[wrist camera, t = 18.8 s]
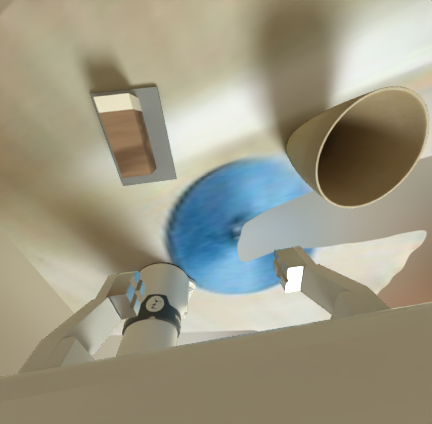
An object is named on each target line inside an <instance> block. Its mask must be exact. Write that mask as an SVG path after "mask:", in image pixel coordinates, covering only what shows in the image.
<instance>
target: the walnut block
mask: <svg viewBox="0 0 432 424" xmlns="http://www.w3.org/2000/svg"><path fill="white" fill-rule="evenodd" d="M93 98H94V100H95V103H96V106H97V109H98V112H99V114H100V117H101V120H102V123H103V125H104V128H105V131H106V134H107V136H108V139H109V142H110V145H111V148H112V150H113V153H114V156H115V159H116V161H117V164H118V167H119V170H120V172H121V175H122V178H128V177H135V176H143V175H150V174H152V173H153V172H154V171H155V170H156V169H157V167H156V163H155V159H154V155H153V151H152V148H151V144H150V140H149V136H148V132H147V129H146V125H145V121H144V117H143V113H142V109H141V106H140V102H139V98H137V97H135V96H133V95H131V94H129V93H125V94H116V95H107V96H98V97H93Z"/></svg>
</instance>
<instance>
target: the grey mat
mask: <svg viewBox="0 0 432 424" xmlns="http://www.w3.org/2000/svg"><path fill="white" fill-rule="evenodd" d="M125 93H129V94H131V95H133V96H135V97H137V98H139V102H140V106H141V109H142V113H143V117H144V121H145V125H146V129H147V132H148V136H149V140H150V144H151V148H152V151H153V155H154V159H155V163H156V167H157V169H156V170H155V171H154V172H153V173H152V174H150V175H143V176H135V177H128V178H122V175H121V172H120V170H119V167H118V164H117V161H116V159H115V156H114V153H113V150H112V148H111V145H110V142H109V139H108V136H107V134H106V131H105V128H104V125H103V123H102V120H101V117H100V114H99V112H98V109H97V106H96V103H95V100H94V98H93V97H98V96H107V95H116V94H125ZM90 95H91V98H92V101H93V104H94V106H95V109H96V112H97V115H98V117H99V120H100V123H101V126H102V128H103V131H104V134H105V137H106V140H107V142H108V145H109V148H110V151H111V153H112V156H113V159H114V162H115V164H116V167H117V170H118V173H119V176H120V178H121V181H122V184H123V186H126V185H133V184H141V183H149V182H157V181H165V180H172V179H176V173H175V169H174V164H173V159H172V154H171V150H170V145H169V140H168V135H167V130H166V126H165V121H164V116H163V111H162V107H161V102H160V97H159V92H158V88H157V87H149V88H139V89H129V90H120V91H110V92H100V93H90Z"/></svg>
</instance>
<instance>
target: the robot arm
mask: <svg viewBox="0 0 432 424" xmlns="http://www.w3.org/2000/svg"><path fill="white" fill-rule="evenodd" d="M274 257H275V259H274V261H273V267H274V271H275V274H276V275H277V277H279V278H280V279H281V281H280V283H281V285H282V287H283V288H284V290H285V292H291V291H298V290H300V291H301V292H302V293H304V294H305V295H306V296H308V297H309V298H310V299H312V300H313V301H314V302H316V303H317V304H318V305H320V306H321V307H322V308H324V309H325V310H326V311H328V312H329V313H330V314H332V315H331V319H330V320H324V321H318V322H312V323H307V324H301V325H295V326H289V327H284V328H278V329H272V330H266V331H261V332H255V333H249V334H243V335H238V336H232V337H226V338H220V339H215V340H209V341H203V342H197V343H192V344H186V345H180V346H177V338H178V336H179V334H180V328H181V318H186V315H187V311H188V301H189V299H190V297H191V295H192V292H193V290H194V288H195V285H196V282H195V281H194V280H192V279H190V278H189V277H188V276H187V275H186V274H185V273H184V271H182V270H181V269H180V268H178V267H176V266H174V265H170V264H164V263H159V264H153V265H149V266H147V267H145V268H143V269H142V270H141V271H140V272H139V271H132V272H124V273H118V274H111V275H109V276H108V278H107V280H106V281H105V283H104V285H103V286H102V288H101V290H100V292H99V293H98V295H97V297H96V298H95V299H94V300H91V301H90V302H89V303H87V304H86V305H85V306H84V307H82V308H81V309H80V310H79V311H77V312H76V313H75V314H74V315H73V316H71V317H70V318H69V319H68V320H66V321H65V322H64V323H63V324H61V325H60V326H59V327H58V328H56V329H55V330H54V331H53V332H51V333H50V334H49V335H48V336H46V337H45V338H44V339H43V340H41V342H40V343H39V344H38V346H37V347H36V349H35V350H34V351H33V353H32V354H31V355H30V357H29V358H28V359H27V361H26V362H25V364H24V365H23V366H22V368H21V369H20V370H19V372H18V373H17V374H13V375H7V376H1V377H0V424H432V302H427V303H422V304H416V305H410V306H404V307H399V308H393V309H391V308H390V307H388V306H387V305H386V304H385V303H384V302H383V301H382V300H381V299H380V298H379V297H378V296H377V295H376V294H375V293H374V292H373V291H372V290H370V289H369V288H368V287H367V286H365V285H363V284H360V283H358V282H356V281H354V280H352V279H350V278H347V277H345V276H343V275H341V274H339V273H337V272H335V271H332V270H330V269H328V268H326V267H324V266H322V265H320V264H317V265H316V263H315V262H314V261H313V260H312V259H311V258H310V257H309V256H308V254H307V253H306V252H305V251H304V250H303V249H302V248H301V247H300V246H296V247H291V248H285V249H278V250H275V251H274ZM126 318H127V319H126ZM121 319H126V321H125V323H124V328H123V332H122V335H123V337H122V340H121V343H120V346H119V349H118V352H117V355H116V357H111V358H105V359H99V360H94V359H93V358H92V356H93V354H94V353H95V352H96V351H97V350H98V348H99V347H100V346H101V345H102V344H103V342H104V341H105V340H106V339H107V337H108V336H109V335H110V334H111V333H112V331H113V330H114V329H115V328H116V326H117V325H118V324H119V323H120V322H121Z"/></svg>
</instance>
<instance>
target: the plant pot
mask: <svg viewBox="0 0 432 424" xmlns="http://www.w3.org/2000/svg"><path fill="white" fill-rule="evenodd" d="M428 133H429V114H428V109H427V107H426V104H425V102H424V101H423V99H422V98H421V97H420V96H419V95H418V94H417V93H416V92H414V91H412V90H410V89H408V88H405V87H385V88H381V89H378V90H375V91H373V92H370V93H367V94H364V95H362V96H359V97H357V98H354V99H351V100H349V101H346V102H344V103H342V104H339V105H337V106H335V107H333V108H331V109H328V110H326V111H324V112H323V113H321V114H319V115H317V116H315V117H314V118H312V119H310V120H309V121H307V122H306V123H304V124H303V125H302V126H300V127H299V128H298V129H297V130H295V131H294V132H293V133H292V135H291V136H290V138H289V140H288V142H287V147H286V151H287V155H288V158H289V160H290V162H291V164H292V165H293V167H294V168H295V170H296V171H297V173H298V174H299V175H300V176H301V178H302V179H303V180H304V181H305V182H306V183H307V184H308V185H309V186H310V187H311V188H312V189H313V190H315V191H316V192H317V193H318V194H319V195H320V196H322V197H323V198H324V199H325V200H326V201H328V202H329V203H331V204H332V205H334V206H337V207H341V208H357V207H362V206H365V205H369V204H371V203H373V202H375V201H377V200H379V199H381V198H383V197H384V196H386V195H387V194H389V193H390V192H391V191H393V190H394V189H395V188H396V187H397V186H398V185H399V184H400V183H402V181H403V180H404V179H405V178H406V177H407V176H408V175H409V173H410V172H411V171H412V169H413V168H414V166H415V165H416V163H417V162H418V160H419V158H420V156H421V154H422V152H423V150H424V147H425V144H426V141H427V138H428Z"/></svg>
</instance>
